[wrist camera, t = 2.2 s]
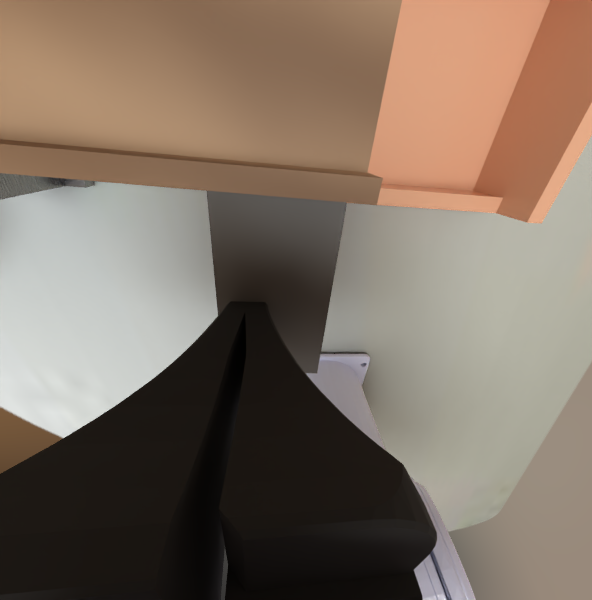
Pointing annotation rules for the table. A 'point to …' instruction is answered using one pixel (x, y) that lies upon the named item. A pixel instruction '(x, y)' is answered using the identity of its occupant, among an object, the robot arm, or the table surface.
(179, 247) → the table surface
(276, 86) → the tipping chute
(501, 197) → the tray
